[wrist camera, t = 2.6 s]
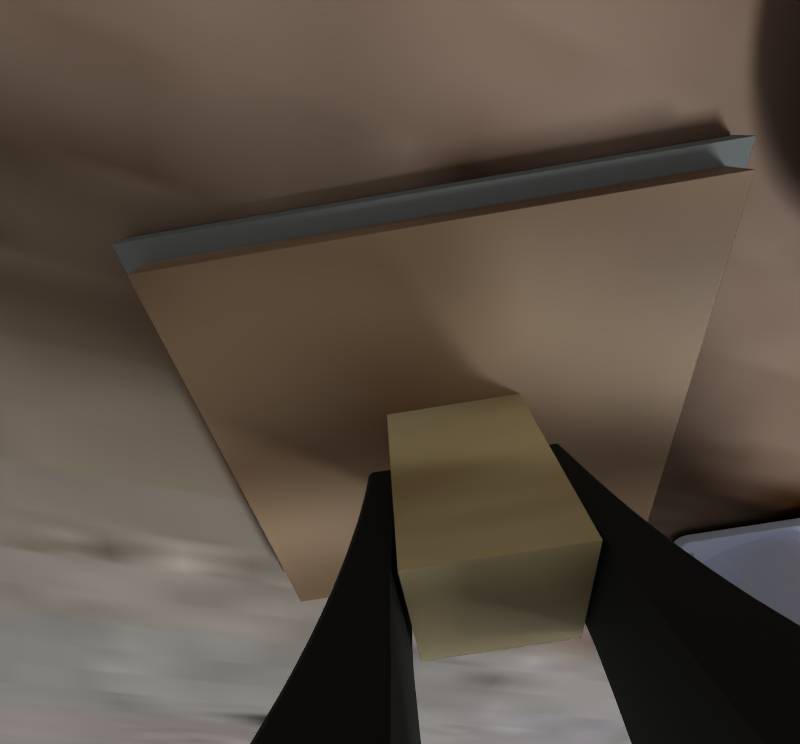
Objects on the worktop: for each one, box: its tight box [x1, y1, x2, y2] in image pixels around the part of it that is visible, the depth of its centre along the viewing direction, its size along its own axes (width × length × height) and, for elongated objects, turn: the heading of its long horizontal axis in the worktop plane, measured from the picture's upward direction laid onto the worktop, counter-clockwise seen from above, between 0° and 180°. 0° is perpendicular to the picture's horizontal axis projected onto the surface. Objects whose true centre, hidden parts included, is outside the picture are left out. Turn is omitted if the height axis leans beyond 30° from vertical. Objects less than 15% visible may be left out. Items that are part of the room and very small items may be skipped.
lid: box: [127, 166, 755, 662], centre depth 10 cm, size 13×13×5 cm
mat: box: [112, 135, 755, 274], centre depth 12 cm, size 14×14×1 cm
